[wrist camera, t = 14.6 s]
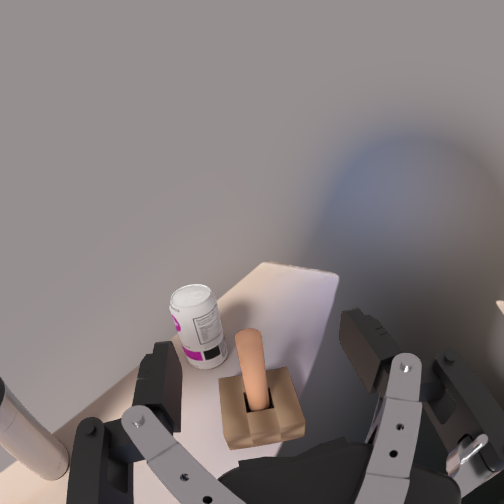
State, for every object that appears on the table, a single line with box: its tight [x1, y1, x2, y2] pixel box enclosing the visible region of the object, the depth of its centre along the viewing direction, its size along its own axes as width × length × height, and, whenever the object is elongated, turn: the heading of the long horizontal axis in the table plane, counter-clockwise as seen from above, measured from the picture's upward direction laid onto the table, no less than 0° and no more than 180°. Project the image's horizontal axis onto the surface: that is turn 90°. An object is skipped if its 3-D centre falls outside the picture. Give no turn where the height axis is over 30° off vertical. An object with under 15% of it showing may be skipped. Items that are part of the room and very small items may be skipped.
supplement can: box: [169, 284, 228, 369], centre depth 48 cm, size 8×8×15 cm
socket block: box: [219, 367, 306, 450], centre depth 36 cm, size 11×11×5 cm
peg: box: [235, 328, 270, 412], centre depth 33 cm, size 3×3×18 cm
